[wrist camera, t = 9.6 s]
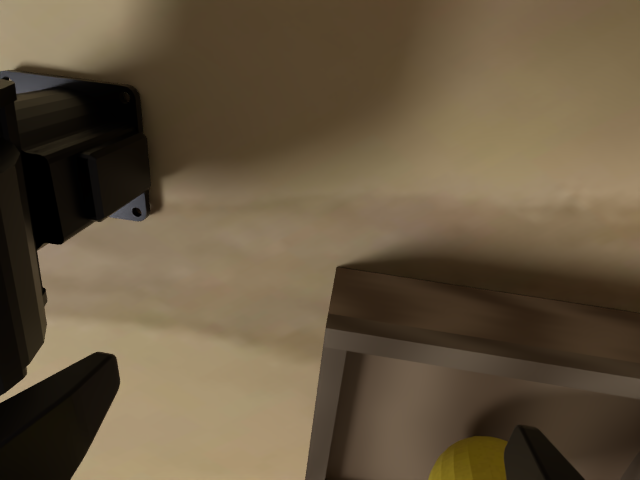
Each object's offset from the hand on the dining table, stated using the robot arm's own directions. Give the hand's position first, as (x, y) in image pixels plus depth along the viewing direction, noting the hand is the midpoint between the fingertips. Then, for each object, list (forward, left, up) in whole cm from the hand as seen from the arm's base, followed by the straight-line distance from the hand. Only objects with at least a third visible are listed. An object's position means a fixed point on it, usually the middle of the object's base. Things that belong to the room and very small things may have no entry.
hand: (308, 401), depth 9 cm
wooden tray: (+8, -9, -12) cm, 17 cm away
